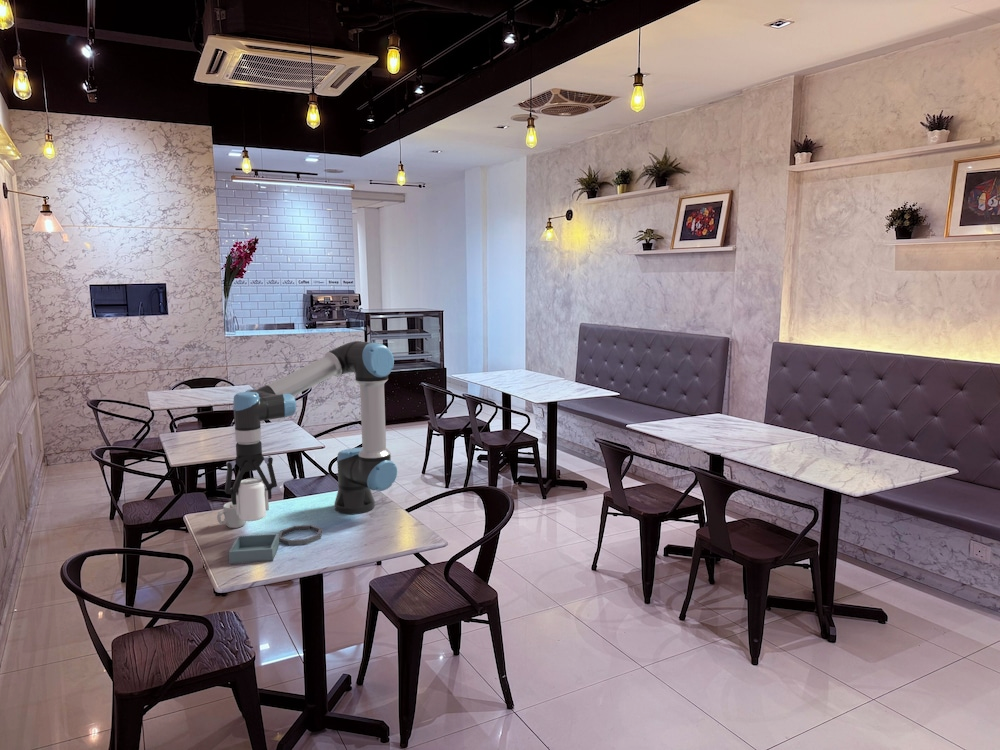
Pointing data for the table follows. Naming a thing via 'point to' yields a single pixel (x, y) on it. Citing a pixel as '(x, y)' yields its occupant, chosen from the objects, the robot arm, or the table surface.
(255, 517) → the beverage can
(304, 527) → the collar
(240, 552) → the bin
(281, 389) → the robot arm
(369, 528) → the table surface
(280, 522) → the table surface
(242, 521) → the cup
